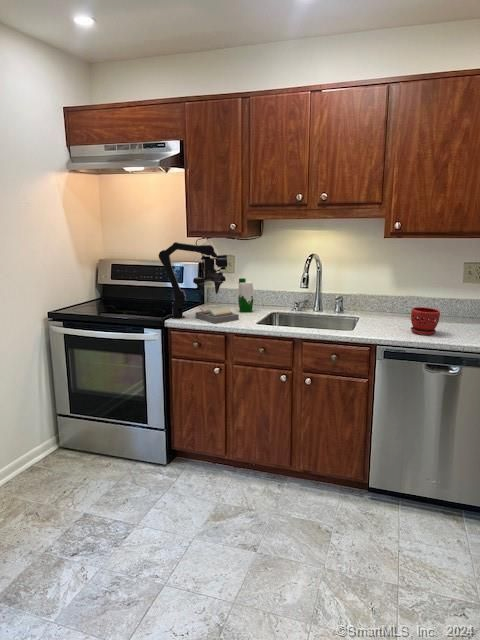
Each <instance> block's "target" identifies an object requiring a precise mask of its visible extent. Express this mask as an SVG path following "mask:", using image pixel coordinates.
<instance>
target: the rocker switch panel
mask: <svg viewBox="0 0 480 640" xmlns="http://www.w3.org/2000/svg"><path fill="white" fill-rule="evenodd" d="M239 316H240V314H238V313H234V312H233V313H232V314H228V315H222V316H216V317H214V316H213V315H212V314H211V313H210V312H208V313H204V312H202V311H195V318H196V319H199V320H202V321H206V322H208V323H211V324H213V325H214V324H222V323H228V322H233V321H234V322H235V321H239V319H240V317H239Z"/></svg>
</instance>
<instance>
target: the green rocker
mask: <svg viewBox="0 0 480 640" xmlns="http://www.w3.org/2000/svg"><path fill="white" fill-rule="evenodd" d="M220 307H221V306H220ZM209 312H210V313H211V314H212V315H213V316H214V317H216V316H222V315H228V314H232V313H234V312H233V311H232V310H231V309H230V308H229V307H228V306H223V307H221V308H214V309H209Z"/></svg>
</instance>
